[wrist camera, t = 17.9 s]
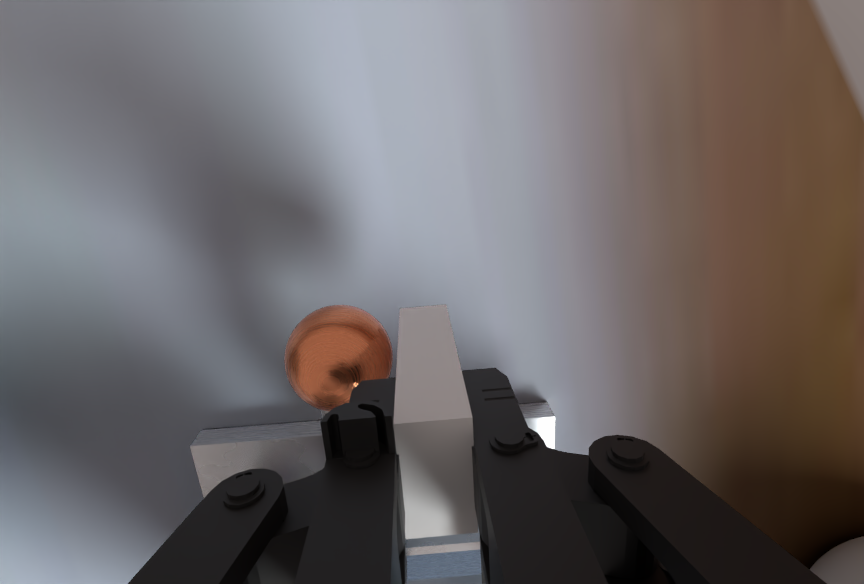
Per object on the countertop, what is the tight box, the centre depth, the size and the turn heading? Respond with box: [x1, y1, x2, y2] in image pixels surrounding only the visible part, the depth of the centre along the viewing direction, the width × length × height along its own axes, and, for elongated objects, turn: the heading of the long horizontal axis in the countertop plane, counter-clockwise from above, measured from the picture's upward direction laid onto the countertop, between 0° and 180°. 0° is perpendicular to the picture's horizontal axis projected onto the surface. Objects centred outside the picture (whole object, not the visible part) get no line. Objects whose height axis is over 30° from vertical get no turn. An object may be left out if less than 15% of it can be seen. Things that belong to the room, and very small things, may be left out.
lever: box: [284, 305, 393, 418], centre depth 15 cm, size 3×10×3 cm, turn 4°
